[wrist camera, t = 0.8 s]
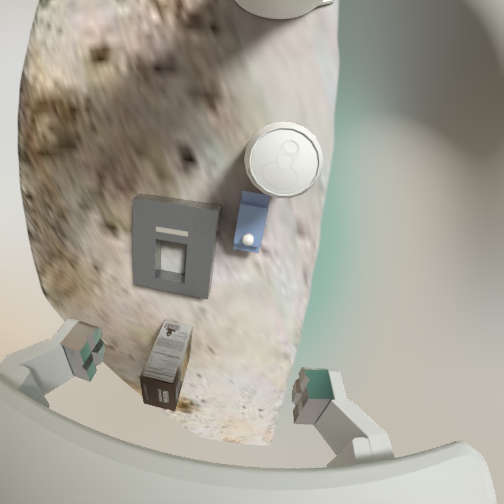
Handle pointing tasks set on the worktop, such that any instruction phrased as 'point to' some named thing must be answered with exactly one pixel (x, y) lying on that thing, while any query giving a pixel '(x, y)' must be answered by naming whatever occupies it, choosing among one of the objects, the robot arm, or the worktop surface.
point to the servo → (251, 221)
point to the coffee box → (166, 366)
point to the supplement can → (283, 160)
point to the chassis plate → (174, 230)
